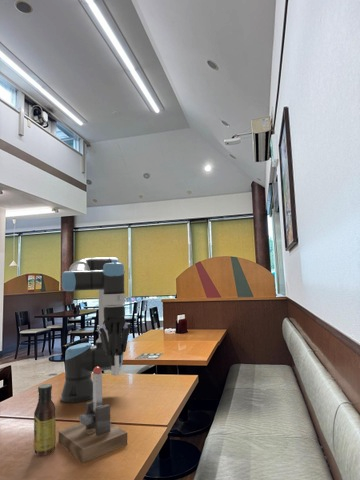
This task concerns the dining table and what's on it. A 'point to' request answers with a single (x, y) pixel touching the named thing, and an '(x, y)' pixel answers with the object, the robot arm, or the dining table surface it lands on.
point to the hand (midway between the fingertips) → (115, 374)
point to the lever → (94, 398)
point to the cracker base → (93, 436)
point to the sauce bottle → (44, 422)
